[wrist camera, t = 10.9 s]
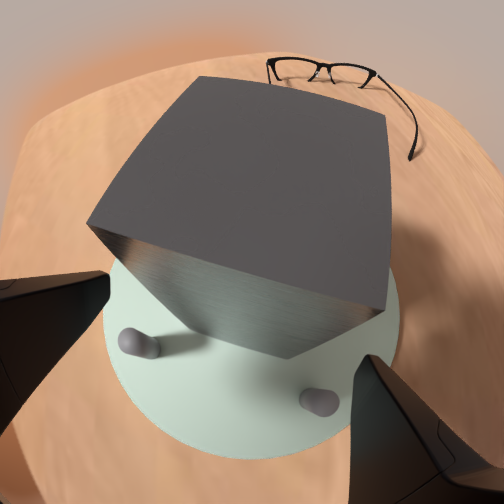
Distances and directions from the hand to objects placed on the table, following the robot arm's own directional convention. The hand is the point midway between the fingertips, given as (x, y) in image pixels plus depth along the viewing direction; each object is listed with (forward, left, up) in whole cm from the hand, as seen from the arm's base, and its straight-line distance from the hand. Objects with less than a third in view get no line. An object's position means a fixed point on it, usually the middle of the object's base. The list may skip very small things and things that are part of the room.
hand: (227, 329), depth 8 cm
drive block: (+3, +2, -8) cm, 8 cm away
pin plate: (+3, +2, -9) cm, 9 cm away
